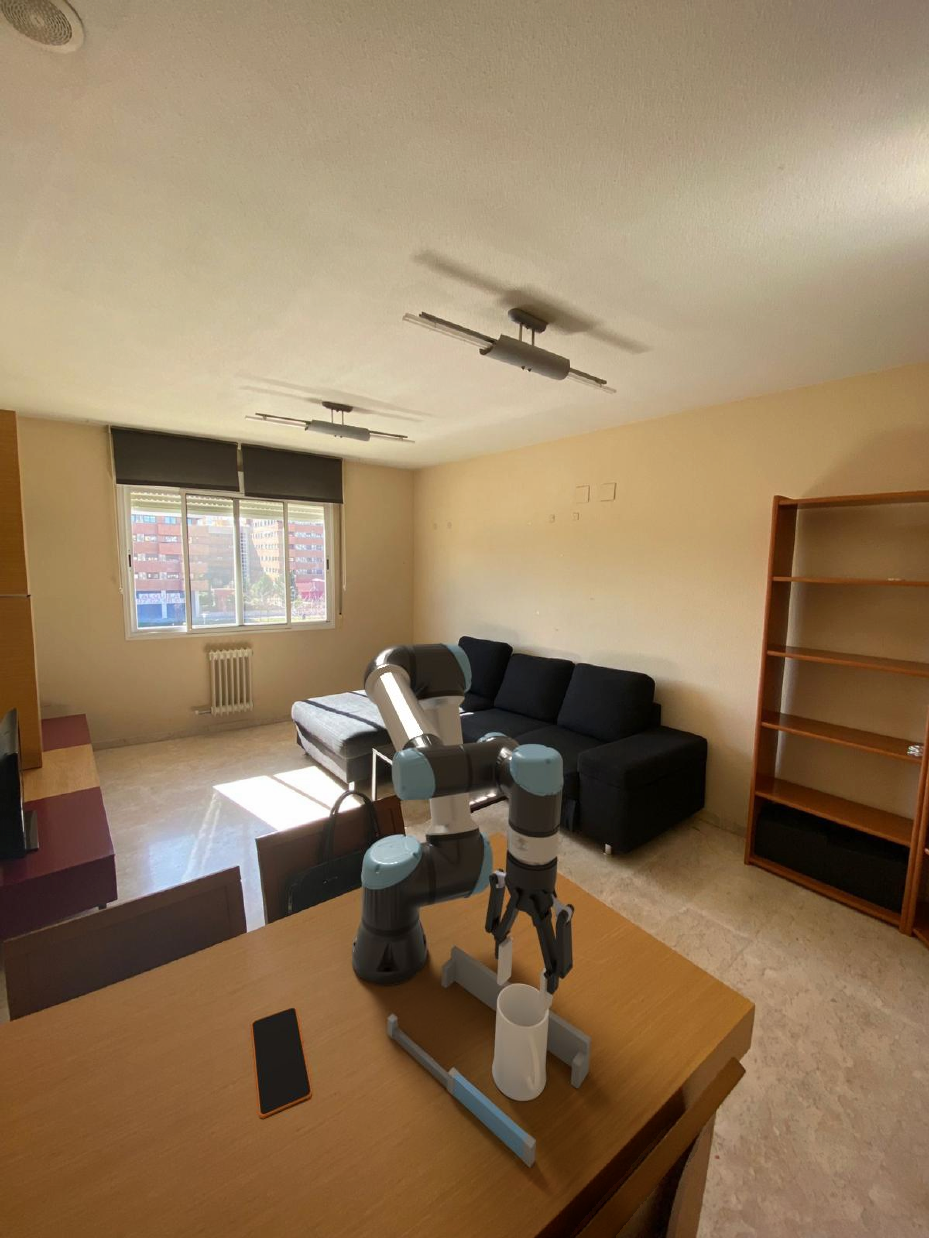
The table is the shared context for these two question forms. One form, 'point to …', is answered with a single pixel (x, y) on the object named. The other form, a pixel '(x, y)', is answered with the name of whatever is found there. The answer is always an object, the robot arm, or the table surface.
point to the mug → (520, 1043)
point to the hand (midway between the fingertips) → (524, 992)
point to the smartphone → (279, 1062)
